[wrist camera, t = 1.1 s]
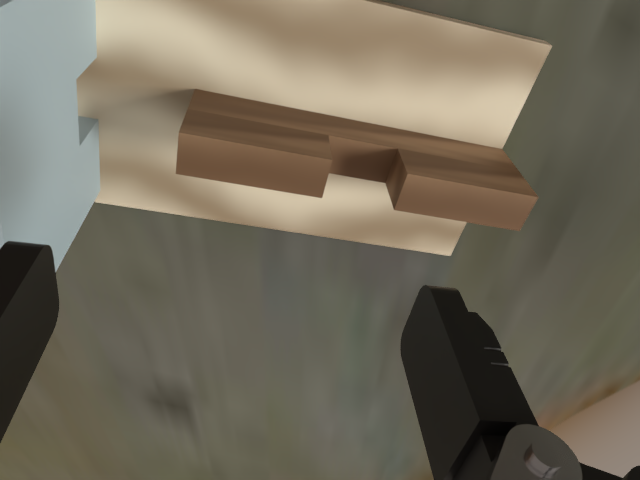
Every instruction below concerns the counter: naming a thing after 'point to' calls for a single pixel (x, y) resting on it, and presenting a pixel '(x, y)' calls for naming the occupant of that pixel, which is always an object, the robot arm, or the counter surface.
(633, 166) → the counter surface
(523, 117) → the counter surface
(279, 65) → the birch board
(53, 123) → the slotted cross plate
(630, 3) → the counter surface
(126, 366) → the counter surface
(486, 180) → the walnut slotted plate
